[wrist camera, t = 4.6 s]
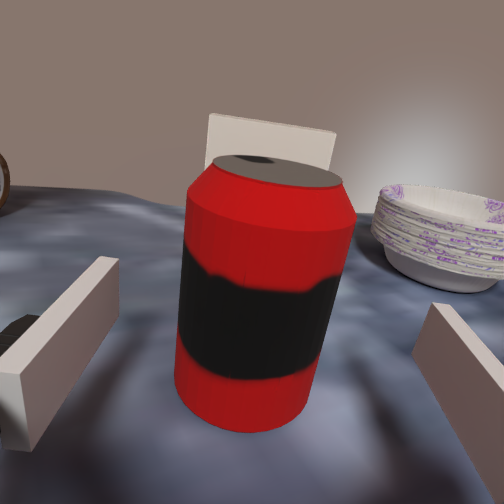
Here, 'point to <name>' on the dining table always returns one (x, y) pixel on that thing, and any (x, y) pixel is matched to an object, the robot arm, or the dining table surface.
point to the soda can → (257, 287)
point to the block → (268, 140)
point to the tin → (4, 181)
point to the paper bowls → (441, 236)
